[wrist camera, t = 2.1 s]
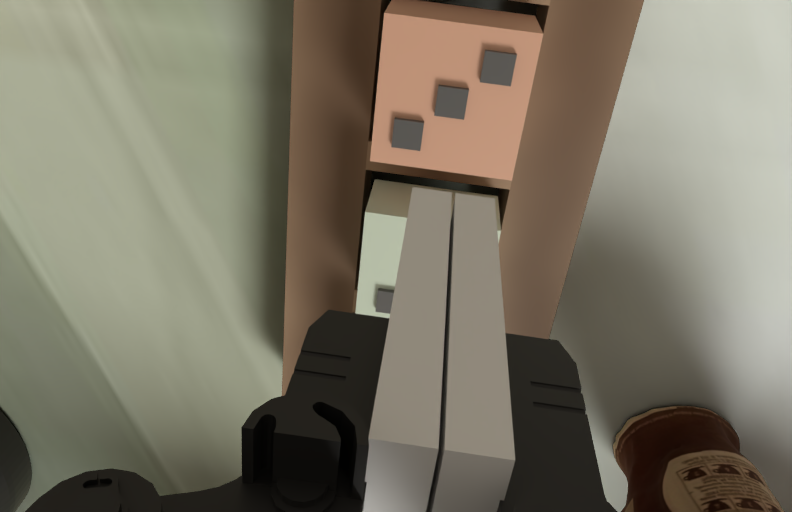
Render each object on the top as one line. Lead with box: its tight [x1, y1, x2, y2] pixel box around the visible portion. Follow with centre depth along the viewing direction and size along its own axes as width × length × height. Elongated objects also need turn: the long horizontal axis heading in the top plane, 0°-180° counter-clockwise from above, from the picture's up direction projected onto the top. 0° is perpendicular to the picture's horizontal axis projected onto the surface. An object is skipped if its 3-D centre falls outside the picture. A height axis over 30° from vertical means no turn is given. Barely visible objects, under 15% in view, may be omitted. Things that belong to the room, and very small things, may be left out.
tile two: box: [355, 179, 501, 318], centre depth 27 cm, size 5×5×3 cm
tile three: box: [370, 0, 543, 181], centre depth 23 cm, size 5×5×3 cm
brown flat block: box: [282, 0, 644, 396], centre depth 30 cm, size 12×22×3 cm, turn 174°
